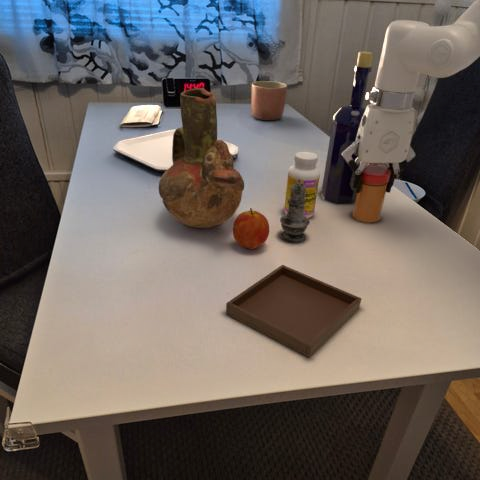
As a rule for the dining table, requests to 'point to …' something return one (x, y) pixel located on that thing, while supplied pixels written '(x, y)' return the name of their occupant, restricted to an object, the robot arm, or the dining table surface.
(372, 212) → the jar
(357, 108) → the bottle
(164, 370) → the dining table surface
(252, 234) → the fruit
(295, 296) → the tray
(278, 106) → the planter
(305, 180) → the supplement bottle
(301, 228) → the grey carved figurine
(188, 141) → the ceramic vessel
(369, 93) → the robot arm
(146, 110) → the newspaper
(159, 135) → the plate
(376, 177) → the jar lid
